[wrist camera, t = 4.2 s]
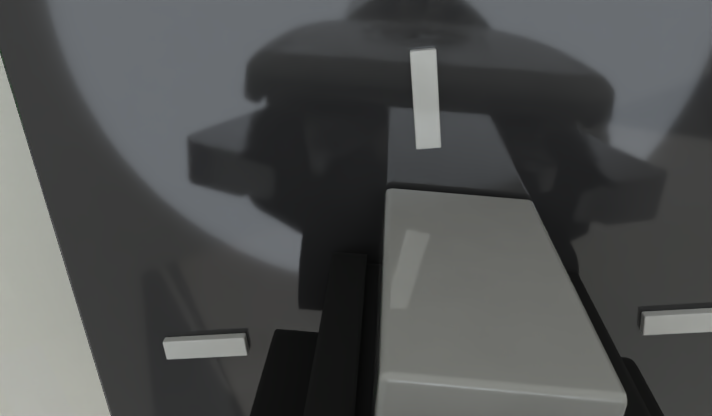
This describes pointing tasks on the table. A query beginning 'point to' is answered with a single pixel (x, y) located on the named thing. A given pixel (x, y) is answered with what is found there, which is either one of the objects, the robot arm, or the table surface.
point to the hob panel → (357, 166)
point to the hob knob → (481, 315)
